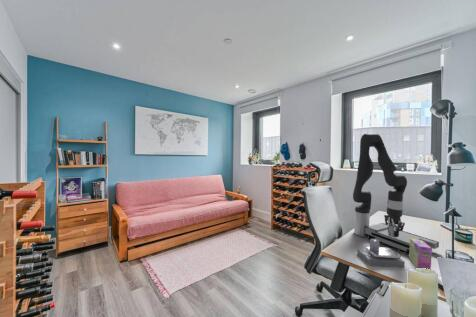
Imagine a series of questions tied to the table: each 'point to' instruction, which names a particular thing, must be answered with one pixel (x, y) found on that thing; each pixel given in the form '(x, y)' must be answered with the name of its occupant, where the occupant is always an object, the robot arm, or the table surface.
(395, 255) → the scale pan
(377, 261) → the scale base
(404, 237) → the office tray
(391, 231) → the spacer
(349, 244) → the table surface
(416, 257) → the box
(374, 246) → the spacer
